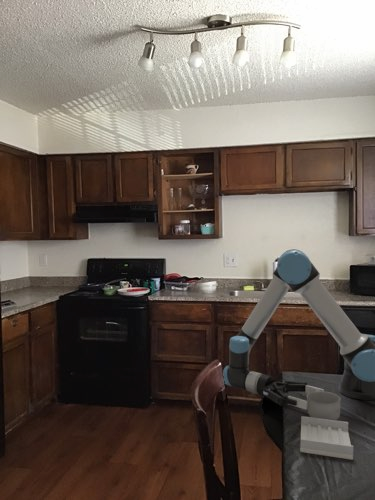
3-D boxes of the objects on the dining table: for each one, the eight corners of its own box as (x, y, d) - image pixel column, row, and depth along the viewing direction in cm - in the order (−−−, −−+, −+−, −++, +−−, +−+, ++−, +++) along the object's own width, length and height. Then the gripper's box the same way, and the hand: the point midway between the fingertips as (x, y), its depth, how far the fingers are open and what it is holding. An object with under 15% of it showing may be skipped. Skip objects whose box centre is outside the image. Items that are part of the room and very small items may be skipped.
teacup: (342, 429, 135) (343, 404, 135) (307, 425, 138) (307, 401, 137) (336, 411, 149) (336, 388, 149) (304, 408, 151) (304, 385, 151)
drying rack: (301, 427, 136) (301, 416, 136) (347, 433, 132) (348, 422, 132) (300, 451, 121) (300, 439, 121) (352, 459, 117) (353, 446, 117)
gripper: (276, 385, 168) (329, 399, 154) (242, 404, 148) (298, 422, 135) (277, 366, 167) (330, 378, 154) (242, 382, 148) (299, 399, 135)
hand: (315, 399), depth 144 cm, fingers open, 13 cm apart
